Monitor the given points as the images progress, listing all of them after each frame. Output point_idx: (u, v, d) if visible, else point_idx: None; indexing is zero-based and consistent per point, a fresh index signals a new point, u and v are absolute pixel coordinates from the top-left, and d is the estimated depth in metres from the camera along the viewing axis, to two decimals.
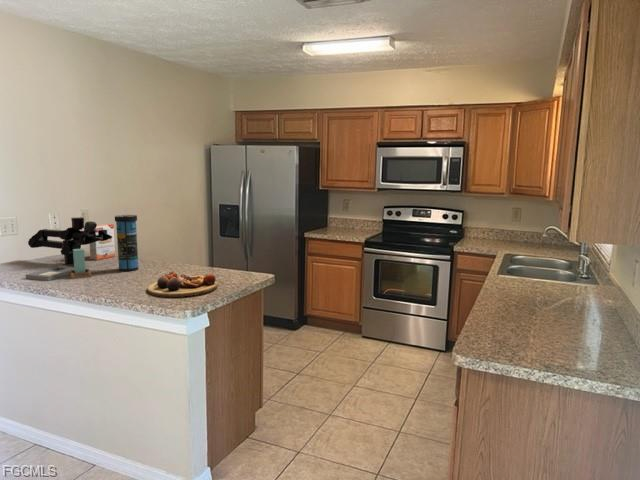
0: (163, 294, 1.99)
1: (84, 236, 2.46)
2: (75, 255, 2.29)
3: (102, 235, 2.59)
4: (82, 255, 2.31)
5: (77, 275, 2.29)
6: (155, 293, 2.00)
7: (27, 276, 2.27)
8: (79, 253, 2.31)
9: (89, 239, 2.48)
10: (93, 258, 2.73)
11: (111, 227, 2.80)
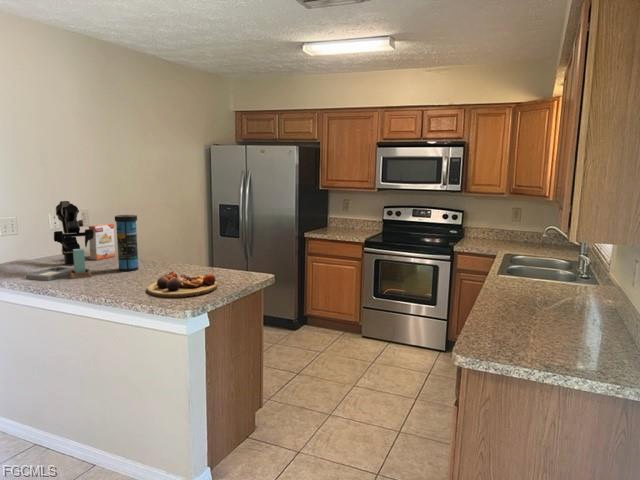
0: (163, 294, 1.98)
1: None
2: (75, 255, 2.29)
3: (85, 236, 2.45)
4: (82, 255, 2.31)
5: (77, 275, 2.29)
6: (155, 293, 2.00)
7: (27, 276, 2.27)
8: (79, 253, 2.31)
9: None
10: (93, 258, 2.73)
11: (111, 227, 2.80)
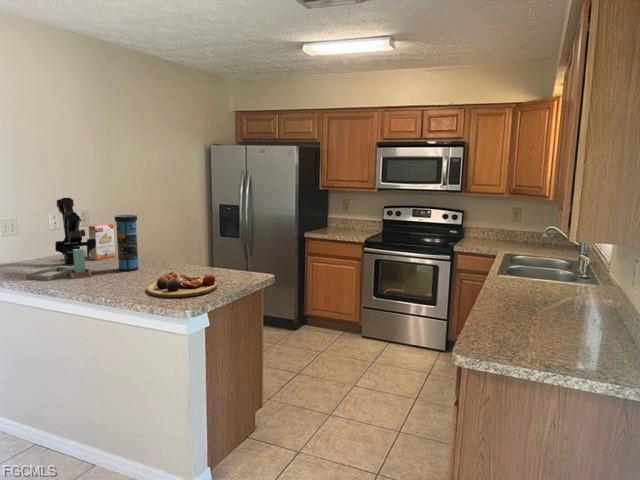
0: (162, 294, 1.98)
1: (59, 246, 2.32)
2: (75, 255, 2.29)
3: (87, 245, 2.40)
4: (82, 255, 2.31)
5: (77, 275, 2.29)
6: (154, 293, 2.00)
7: (27, 276, 2.27)
8: (79, 253, 2.31)
9: None
10: (93, 258, 2.73)
11: (111, 227, 2.80)
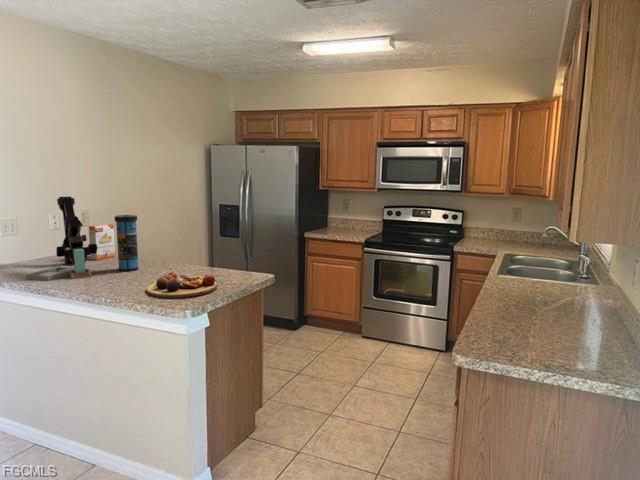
0: (162, 295, 1.98)
1: (65, 251, 2.31)
2: (75, 255, 2.29)
3: (84, 251, 2.37)
4: (82, 255, 2.31)
5: (77, 275, 2.29)
6: (154, 294, 1.99)
7: (27, 276, 2.27)
8: (79, 253, 2.31)
9: None
10: (93, 258, 2.73)
11: (111, 227, 2.80)
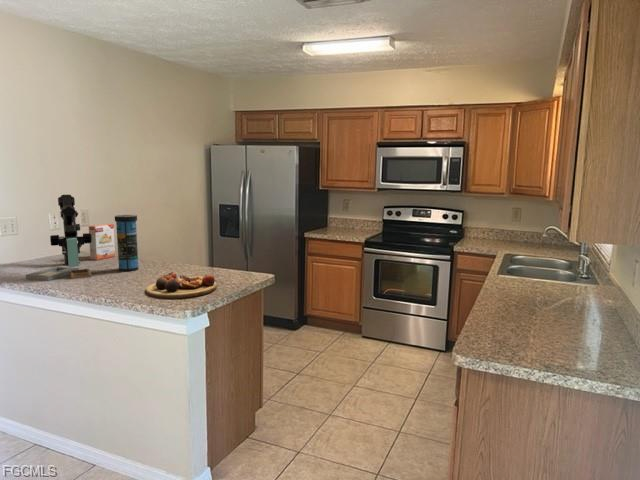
0: (161, 295, 1.97)
1: None
2: (68, 244, 2.27)
3: (78, 240, 2.34)
4: (75, 244, 2.29)
5: (77, 275, 2.29)
6: (153, 294, 1.99)
7: (27, 276, 2.27)
8: (72, 242, 2.28)
9: None
10: (93, 258, 2.73)
11: (111, 227, 2.80)
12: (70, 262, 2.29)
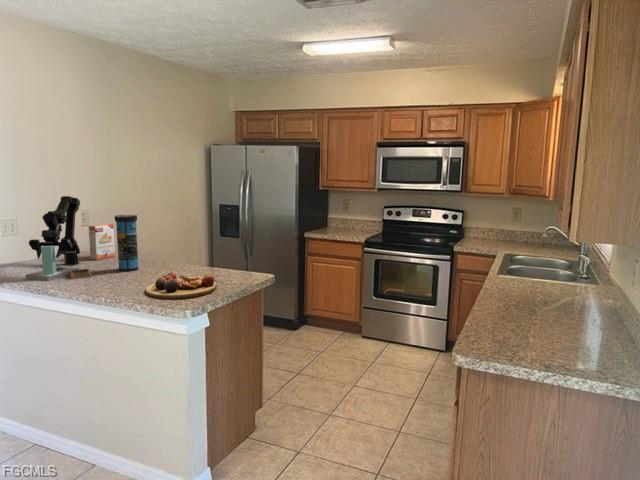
0: (160, 295, 1.97)
1: None
2: (42, 252, 2.25)
3: None
4: (49, 252, 2.26)
5: (77, 275, 2.29)
6: (152, 294, 1.98)
7: (27, 276, 2.27)
8: (46, 250, 2.25)
9: None
10: (93, 258, 2.73)
11: (111, 227, 2.80)
12: (44, 270, 2.27)
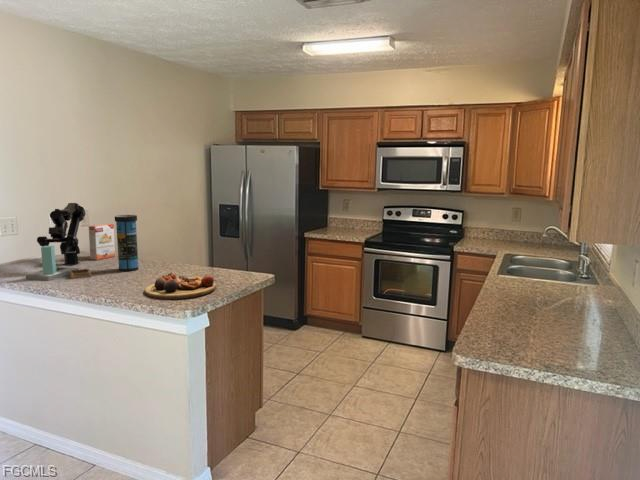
0: (160, 296, 1.96)
1: None
2: (42, 252, 2.25)
3: None
4: (49, 252, 2.26)
5: (77, 275, 2.29)
6: (152, 295, 1.98)
7: (27, 276, 2.27)
8: (46, 250, 2.25)
9: None
10: (93, 258, 2.73)
11: (111, 227, 2.80)
12: (44, 270, 2.27)
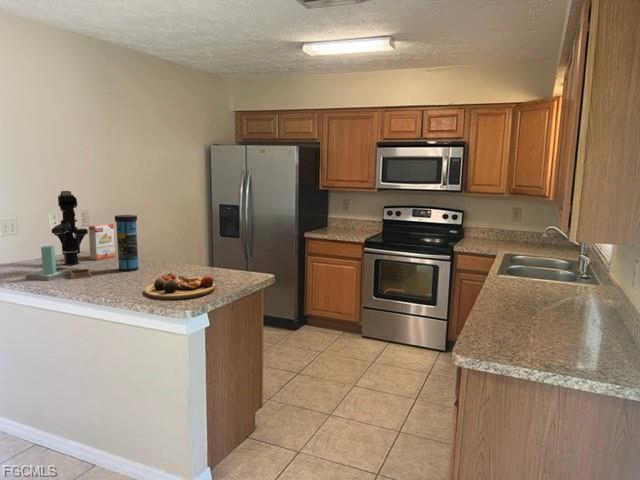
0: (159, 296, 1.95)
1: None
2: (42, 252, 2.25)
3: None
4: (49, 252, 2.26)
5: (77, 275, 2.29)
6: (151, 295, 1.97)
7: (27, 276, 2.27)
8: (46, 250, 2.25)
9: None
10: (93, 258, 2.73)
11: (111, 227, 2.80)
12: (44, 270, 2.27)
